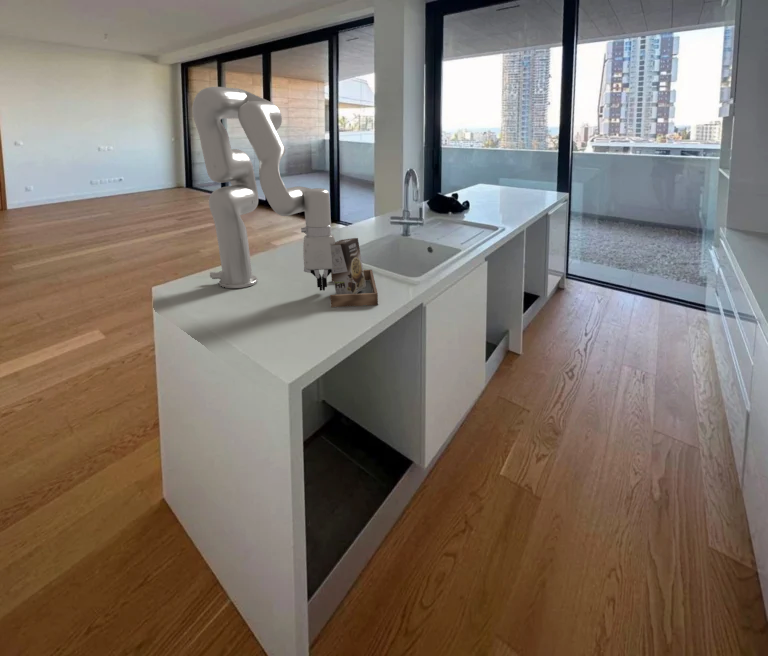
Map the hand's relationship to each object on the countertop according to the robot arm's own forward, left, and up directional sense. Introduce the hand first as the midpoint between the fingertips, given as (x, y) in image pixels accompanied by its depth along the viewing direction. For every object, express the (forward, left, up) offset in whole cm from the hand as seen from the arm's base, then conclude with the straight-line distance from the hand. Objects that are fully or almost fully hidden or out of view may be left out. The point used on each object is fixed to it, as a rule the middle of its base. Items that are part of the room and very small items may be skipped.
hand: (322, 289), depth 157 cm
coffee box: (+9, -1, -1) cm, 9 cm away
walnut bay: (+9, 0, -1) cm, 9 cm away
